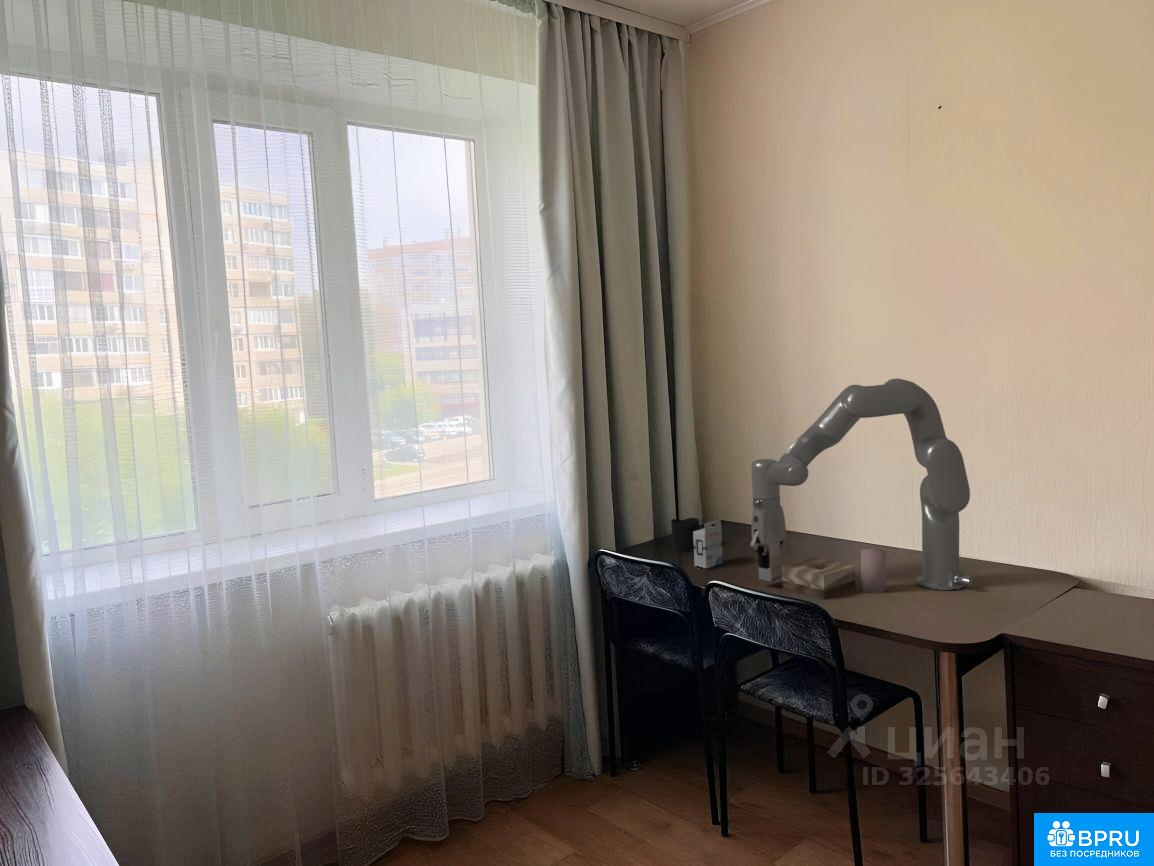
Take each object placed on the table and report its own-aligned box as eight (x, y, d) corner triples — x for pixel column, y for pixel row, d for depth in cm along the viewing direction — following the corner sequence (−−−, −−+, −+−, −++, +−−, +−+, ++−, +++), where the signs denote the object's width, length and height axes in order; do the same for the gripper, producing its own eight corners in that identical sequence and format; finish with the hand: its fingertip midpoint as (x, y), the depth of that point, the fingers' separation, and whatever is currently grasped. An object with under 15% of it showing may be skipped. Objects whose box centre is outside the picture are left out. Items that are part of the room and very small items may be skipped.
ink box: (710, 561, 270) (709, 516, 269) (723, 564, 267) (721, 518, 265) (693, 567, 265) (692, 521, 263) (706, 570, 261) (704, 523, 259)
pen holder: (680, 544, 294) (679, 516, 293) (704, 547, 289) (703, 518, 288) (667, 550, 287) (666, 522, 285) (691, 554, 281) (690, 524, 280)
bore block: (855, 588, 236) (854, 565, 236) (824, 599, 228) (823, 576, 227) (813, 578, 247) (813, 556, 247) (782, 588, 239) (782, 566, 238)
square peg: (781, 578, 241) (779, 540, 240) (771, 581, 239) (769, 543, 237) (769, 575, 245) (767, 538, 244) (759, 578, 242) (757, 541, 241)
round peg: (890, 590, 233) (890, 551, 232) (877, 595, 230) (876, 555, 228) (869, 585, 239) (869, 547, 237) (856, 590, 235) (855, 551, 233)
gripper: (757, 509, 231) (760, 574, 233) (796, 499, 241) (799, 561, 243) (736, 506, 237) (739, 570, 239) (775, 496, 247) (778, 557, 249)
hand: (769, 565), depth 241 cm, fingers closed on square peg, 4 cm apart
